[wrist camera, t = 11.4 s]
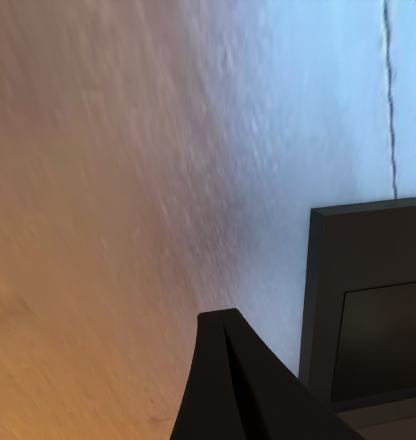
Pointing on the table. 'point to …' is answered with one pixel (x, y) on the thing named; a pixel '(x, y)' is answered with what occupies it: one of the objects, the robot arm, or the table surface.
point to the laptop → (360, 304)
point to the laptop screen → (384, 420)
